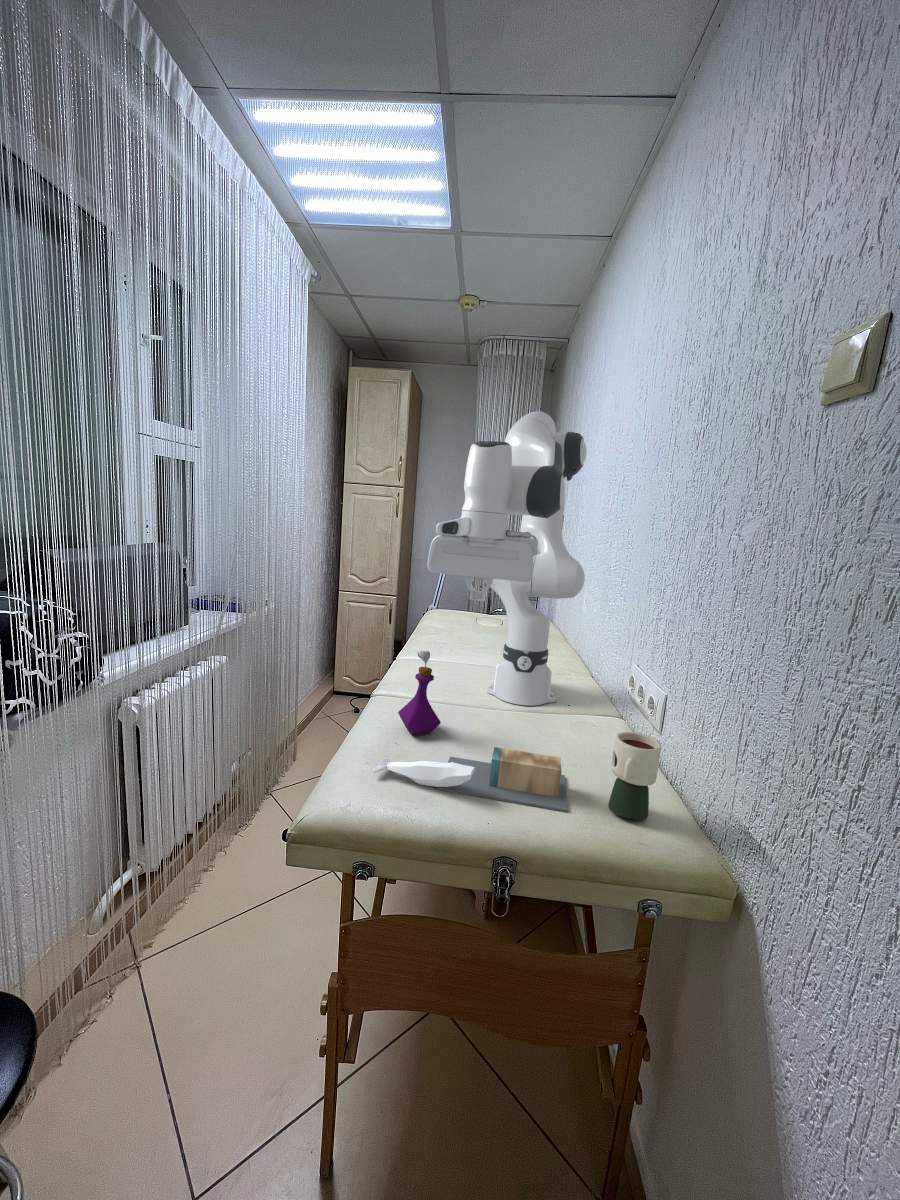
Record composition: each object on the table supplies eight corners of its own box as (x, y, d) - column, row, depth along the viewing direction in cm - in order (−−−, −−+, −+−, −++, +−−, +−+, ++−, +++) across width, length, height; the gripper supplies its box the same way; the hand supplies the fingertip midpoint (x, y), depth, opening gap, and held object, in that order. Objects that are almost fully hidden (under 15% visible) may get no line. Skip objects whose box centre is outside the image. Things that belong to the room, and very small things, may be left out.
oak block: (494, 747, 92) (560, 757, 90) (491, 772, 93) (557, 783, 91) (491, 759, 87) (561, 770, 85) (489, 785, 88) (558, 797, 86)
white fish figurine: (469, 797, 82) (468, 775, 82) (371, 782, 88) (370, 761, 87) (478, 782, 87) (477, 760, 87) (385, 768, 93) (384, 748, 93)
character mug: (614, 792, 90) (624, 724, 88) (656, 807, 86) (667, 736, 84) (596, 819, 81) (607, 744, 79) (642, 837, 77) (654, 758, 75)
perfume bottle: (440, 737, 107) (446, 656, 104) (406, 740, 104) (412, 657, 101) (428, 723, 114) (434, 646, 111) (396, 725, 111) (402, 647, 108)
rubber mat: (450, 758, 98) (450, 756, 98) (564, 777, 94) (564, 775, 94) (437, 789, 86) (437, 787, 86) (567, 812, 82) (567, 810, 82)
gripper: (539, 532, 96) (531, 603, 98) (435, 524, 99) (430, 592, 101) (539, 533, 89) (530, 608, 92) (428, 523, 93) (422, 597, 95)
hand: (477, 600), depth 96 cm, fingers closed
